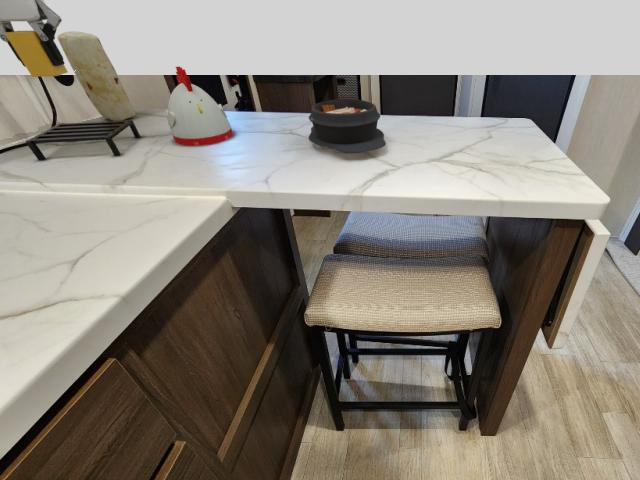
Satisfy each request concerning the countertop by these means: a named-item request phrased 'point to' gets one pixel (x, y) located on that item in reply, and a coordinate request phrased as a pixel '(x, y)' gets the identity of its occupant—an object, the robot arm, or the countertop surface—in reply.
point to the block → (33, 54)
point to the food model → (96, 74)
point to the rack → (82, 134)
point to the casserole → (346, 126)
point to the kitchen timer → (195, 115)
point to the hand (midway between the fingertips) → (44, 64)
